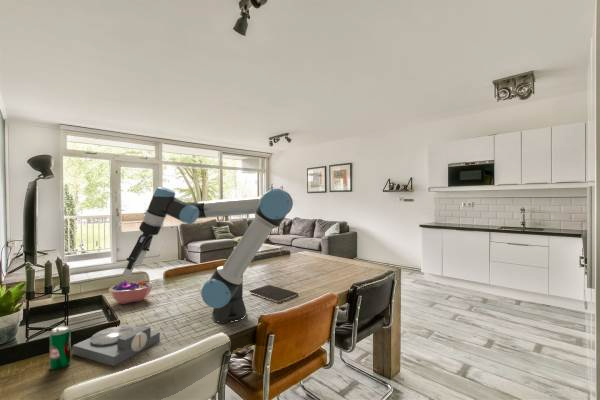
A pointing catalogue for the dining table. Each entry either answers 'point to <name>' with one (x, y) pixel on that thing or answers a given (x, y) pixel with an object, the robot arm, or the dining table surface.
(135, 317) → the dining table surface
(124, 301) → the cell model
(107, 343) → the scale pan
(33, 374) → the dining table surface
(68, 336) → the soda can
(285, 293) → the hardcover book
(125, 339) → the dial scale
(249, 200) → the robot arm
